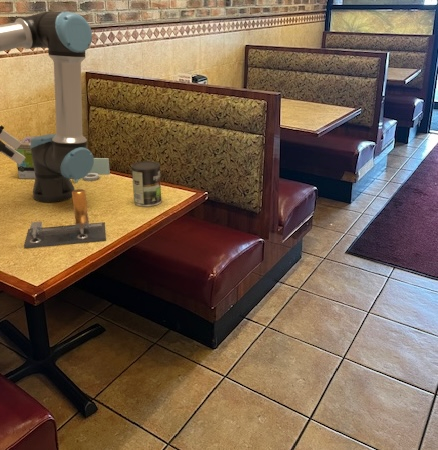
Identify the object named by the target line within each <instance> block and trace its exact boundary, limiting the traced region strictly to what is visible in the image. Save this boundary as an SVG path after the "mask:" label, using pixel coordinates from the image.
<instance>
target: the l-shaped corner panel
mask: <svg viewBox="0 0 438 450" xmlns="http://www.w3.org/2000/svg"><path fill="white" fill-rule="evenodd" d="M93 158H94V164H93V167H92V169H91V171H90V172H89V173H88V175H87V176H85V177H84V178H82V180H83V181H85V182H94V181H98V180H100V177H101V176H100V175H103V176H104V175H108V176H109V175H111V172H110V161H109V159H110V158H108V157H107V158H105V157H102V158H101V157H93ZM80 180H81V179H78V180H74V179H73V181H74V184H78V183H79V181H80Z"/></svg>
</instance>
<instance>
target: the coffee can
mask: <svg viewBox="0 0 438 450" xmlns="http://www.w3.org/2000/svg"><path fill="white" fill-rule="evenodd" d="M130 167H131V174H132V177H131V178H132V189H133V190H132V191H133V204H134V205H136V206H138V207H148V208H149V207H155V206H158V205H160V204H161V203H162V201H163V200H162V187H161V186H162V183H161V164H160V163H159V162H157V161H148V160H144V161H138V162H135V163H134V162H133V163H132V164H131V166H130Z"/></svg>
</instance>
